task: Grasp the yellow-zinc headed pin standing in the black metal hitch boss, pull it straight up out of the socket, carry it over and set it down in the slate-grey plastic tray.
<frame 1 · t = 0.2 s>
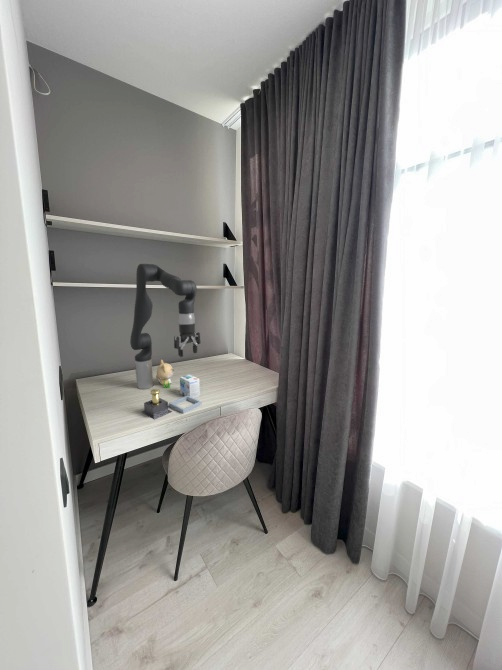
hand: (188, 354, 134), 29 cm above the table, fingers open, 8 cm apart
kitten: (166, 384, 171), on the table
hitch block: (156, 413, 134), on the table
tray: (185, 407, 140), on the table
pin: (156, 411, 134), point 1 cm above the table, touching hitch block
light bulb box: (190, 395, 155), on the table
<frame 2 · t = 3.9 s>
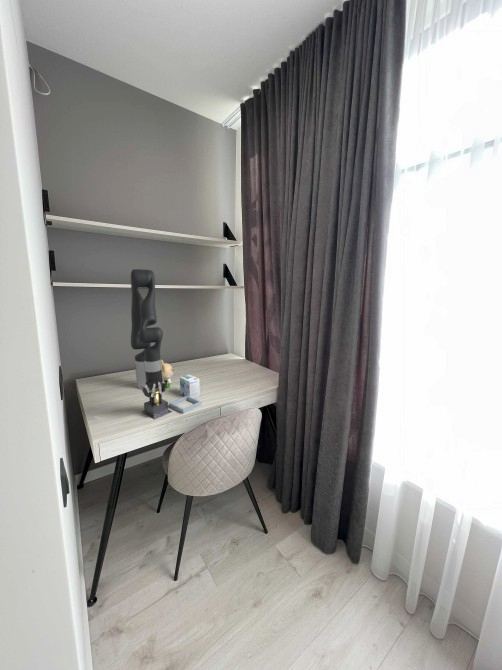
hand: (155, 402, 133), 6 cm above the table, fingers closed on pin, 3 cm apart
pin: (156, 411, 134), point 1 cm above the table, touching gripper, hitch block
everything else where it was.
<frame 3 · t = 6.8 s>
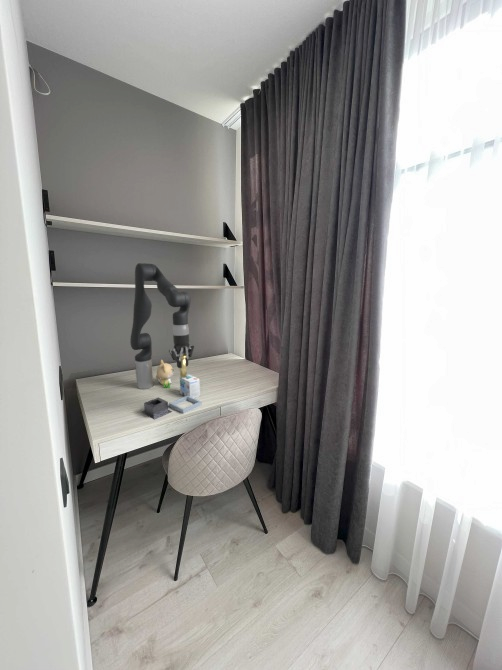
hand: (182, 366, 135), 22 cm above the table, fingers closed on pin, 3 cm apart
pin: (183, 376, 136), point 17 cm above the table, touching gripper
everything else where it was.
when the fingers open (7 cm above the table, at t = 9.9 s): pin drops 1 cm, resting on tray.
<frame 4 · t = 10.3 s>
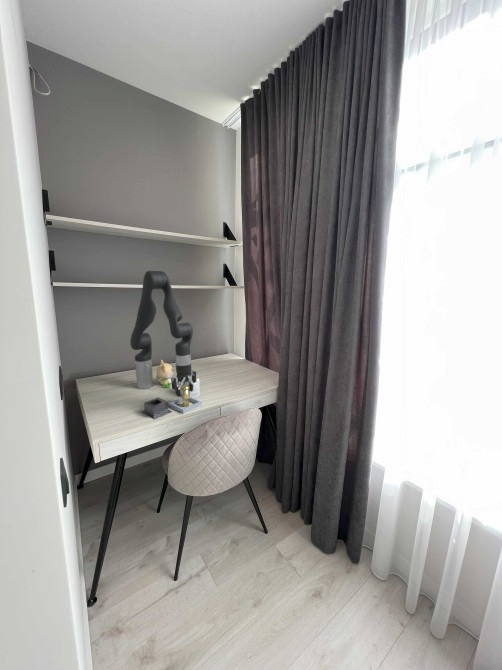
hand: (185, 393, 139), 8 cm above the table, fingers open, 7 cm apart
pin: (186, 406, 140), point 1 cm above the table, touching tray
everything else where it was.
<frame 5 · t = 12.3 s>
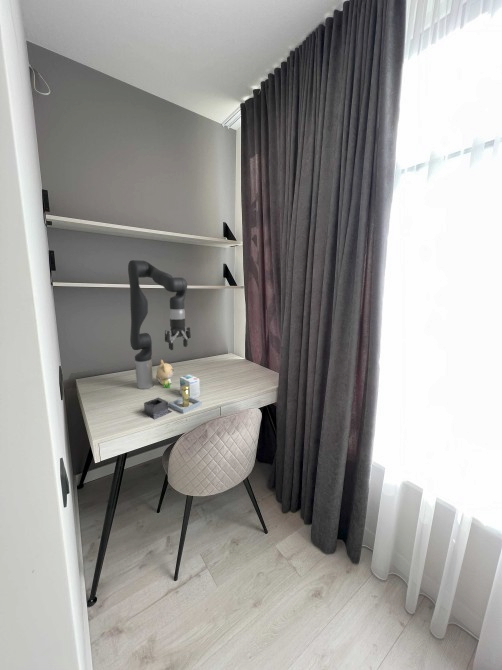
hand: (178, 348, 141), 30 cm above the table, fingers open, 8 cm apart
nothing on the table moved.
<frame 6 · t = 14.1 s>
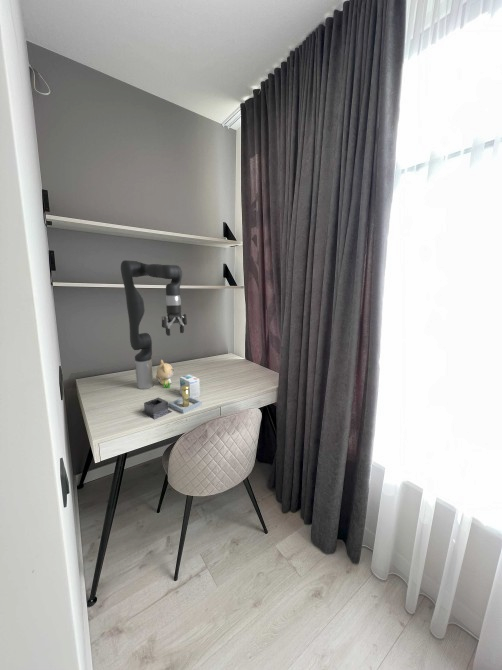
hand: (175, 334, 146), 36 cm above the table, fingers open, 8 cm apart
nothing on the table moved.
at the end: pin inside the target area on the tray (0.3 cm from its centre), point 0.6 cm above the tray's base; pin touching tray; the gripper is holding nothing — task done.
